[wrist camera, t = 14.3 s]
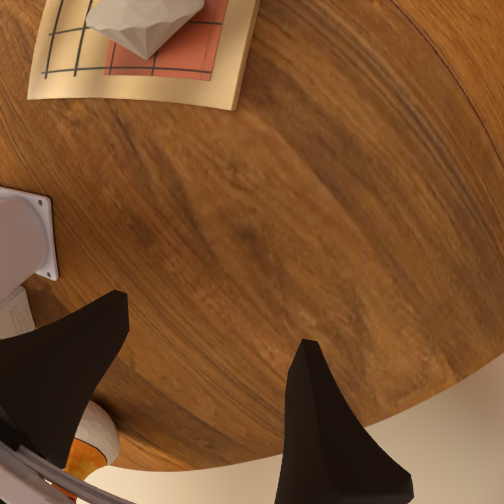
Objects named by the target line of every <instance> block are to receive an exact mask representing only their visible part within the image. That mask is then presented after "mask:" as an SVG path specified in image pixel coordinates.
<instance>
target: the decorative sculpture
mask: <svg viewBox="0 0 504 504" xmlns="http://www.w3.org/2000/svg"><path fill="white" fill-rule="evenodd" d="M119 450H120V440H119V434H118V432H117V429H116V426H115V424H114V423H113V421H112V419H111V418H110V416H109V415H108V414H107V412H106V411H105V410H104V409H102V408H101V407H100V406H99V405H97V404H96V403H95V402H93V401H90V400H89V402H88V404H87V407H86V409H85V411H84V413H83V416H82V418H81V421H80V423H79V426H78V428H77V431H76V434H75V437H74V440H73V443H72V446H71V450H70V453H69V457H68V460H67V464H66V468H64V469H63V471H65V472H67V473H69V474H71V475H72V476H74V477H76V478H78V479H80V480H82V481H84V479H85V478H86V477H87V476H88V475H89V474H91V473H92V472H94V471H95V470H96V469H99V468H101V467H104V466H108V465H109V464H111V463H112V462H113V461H114V460H115V459H116V458H117V456H118V454H119ZM52 486H53V487H55V488H56V489H58V490H60V491H61V492H63V493H64V494H65V495H66V496H67V497H68V498H69V499H71V500H72V501H73V502H75V503H76V500H77V497H76V496H74V495H72V494H70V493H68V492H67V491H65V490H63V489H61V488H59V487H58V486H56V485H54V484H52ZM0 504H7V503H5V502H4V501H3V500H2V499H0Z"/></svg>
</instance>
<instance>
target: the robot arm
mask: <svg viewBox="0 0 504 504" xmlns="http://www.w3.org/2000/svg"><path fill="white" fill-rule="evenodd" d="M41 201H42V202H41ZM33 273H36V274H39V275H41V276H44V277H46V278H48V279H51V280H54V281H56V280H57V279H58V269H57V262H56V255H55V246H54V237H53V226H52V213H51V201H50V199H49V198H48V197H46V196H41V195H37V194H32V193H28V192H23V191H18V190H14V189H9V188H5V187H0V302H1V301H2V300H3V299H4V298H5V297H7V296H8V295H9V294H10V293H11V292H12V291H13V290H14V289H16V288H17V287H18V286H19V285H20V284H21V283H23V282H24V281H25V280H26V279H27V278H29V277H30V276H31V275H32V274H33ZM128 332H129V317H128V299H127V293H124V292H121V291H117V290H113V291H111V292H109V293H107V294H106V295H104V296H102V297H100V298H99V299H97V300H95V301H93V302H92V303H90V304H88V305H86V306H84V307H83V308H81V309H79V310H77V311H75V312H73V313H71V314H69V315H67V316H65V317H64V318H62V319H60V320H58V321H55V322H53V323H51V324H49V325H46V326H44V327H41V328H39V329H36V330H33V331H30V332H27V333H24V334H20V335H17V336H14V337H10V338H5V339H0V499H2V500H3V501H4V502H5V503H7V504H76V503H75V502H73V501H72V500H71V499H69V498H68V497H67V496H66V495H65V494H64V493H63V492H61V491H60V490H58V489H56V488H55V487H53V486H52V485H50V484H49V483H47V482H46V481H45V480H44V479H46V480H47V481H49V482H51V483H53V484H54V485H56V486H58V487H59V488H61V489H63V490H65V491H67V492H68V493H70V494H72V495H74V496H76V497H78V498H80V499H82V500H84V501H86V502H88V503H90V504H135V503H133V502H130V501H128V500H125V499H122V498H120V497H117V496H115V495H112V494H110V493H108V492H106V491H103V490H101V489H99V488H97V487H95V486H92V485H90V484H88V483H86V482H84V481H82V480H80V479H78V478H76V477H74V476H72V475H71V474H69V473H67V472H65V471H63V470H62V469H64V468H66V464H67V460H68V457H69V453H70V450H71V446H72V443H73V440H74V437H75V434H76V431H77V428H78V426H79V423H80V421H81V418H82V416H83V413H84V411H85V409H86V407H87V404H88V402H89V400H90V398H91V396H92V394H93V392H94V390H95V388H96V386H97V385H98V383H99V382H100V380H101V379H102V377H103V376H104V374H105V372H106V371H107V369H108V368H109V366H110V365H111V363H112V362H113V360H114V358H115V357H116V355H117V354H118V352H119V351H120V349H121V347H122V345H123V343H124V341H125V339H126V336H127V334H128ZM413 498H414V493H413V483H412V479H411V474H410V473H408V472H407V471H406V470H405V469H403V468H402V467H401V466H400V465H399V464H397V463H396V462H395V461H394V460H393V459H392V458H391V457H390V456H389V455H387V454H386V452H385V451H383V450H382V448H380V446H379V445H378V444H377V443H376V442H375V441H374V440H373V439H372V437H371V436H370V435H369V434H368V433H367V431H366V430H365V429H364V428H363V426H362V425H361V424H360V422H359V421H358V419H357V418H356V416H355V415H354V414H353V412H352V410H351V409H350V407H349V406H348V404H347V402H346V401H345V399H344V397H343V395H342V393H341V392H340V390H339V388H338V386H337V384H336V382H335V380H334V378H333V376H332V374H331V371H330V369H329V367H328V365H327V363H326V360H325V358H324V356H323V353H322V351H321V348H320V346H319V344H318V342H317V341H313V340H307V339H302V341H301V343H300V345H299V348H298V350H297V353H296V355H295V357H294V360H293V362H292V364H291V366H290V369H289V371H288V377H287V384H286V391H285V438H284V451H283V458H282V465H281V471H280V477H279V483H278V488H277V493H276V499H275V503H274V504H408V503H409V502H410V501H411V500H412V499H413Z"/></svg>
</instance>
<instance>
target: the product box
mask: <svg viewBox="0 0 504 504" xmlns="http://www.w3.org/2000/svg"><path fill="white" fill-rule="evenodd" d="M33 330H35V324H34V321H33V318H32V314H31V311H30V307H29V303H28V298H27V293H26V290H25V288H24V287H23V286H21V285H19V286H18V287H17V288H16V289H14V290H13V291H12V292H11V293H10V294H9V295H8V296H7V297H5V298H4V299H3V300H2V301H1V302H0V339H5V338H10V337H14V336H17V335H20V334H24V333H27V332H30V331H33Z"/></svg>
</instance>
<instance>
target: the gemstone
mask: <svg viewBox="0 0 504 504" xmlns="http://www.w3.org/2000/svg"><path fill="white" fill-rule="evenodd" d="M203 6H204V0H101V1H100V2H99V3H98V4H96V5H95V6H94V7H93V8H92V9H91V10H90V11H89V12H88V15H87V17H86V20H85V21H86V24H87V26H88V27H90V28H92V29H94V30H95V31H97V32H99V33H101V34H103V35H104V36H106V37H108V38H110V39H112V40H113V41H115V42H117V43H118V44H120V45H122V46H124V47H125V48H127V49H129V50H130V51H132V52H134V53H135V54H137V55H139V56H140V57H142V58H143V59H145V60H148V59H149V58H150V57H151V56H152V55H153V54H154V53H155V52H156V51H157V50H158V49H159V48H160V47H161V46H162V45H163V44H164V43H165V42H166V41H167V40H168V39H169V38H170V37H171V36H172V35H173V34H174V33H175V32H176V31H177V30H178V29H179V28H181V27H182V26H183V25H184V24H185V23H186V22H187V21H188V20H189V19H190V18H192V17H193V16H194V15H195V14H196V13H197V12H199V11H200V10H201V9H202V8H203Z"/></svg>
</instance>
